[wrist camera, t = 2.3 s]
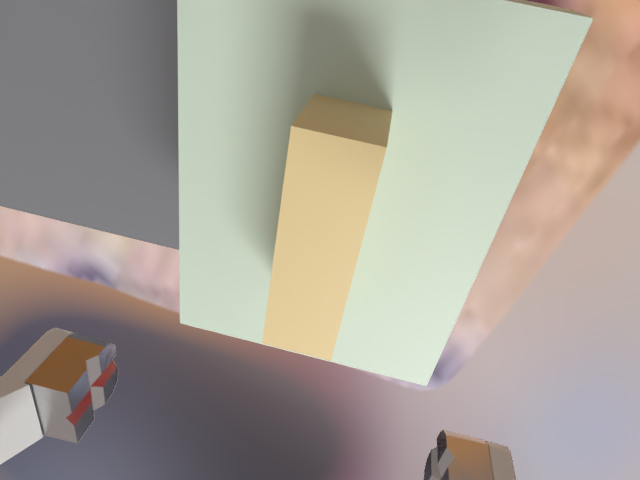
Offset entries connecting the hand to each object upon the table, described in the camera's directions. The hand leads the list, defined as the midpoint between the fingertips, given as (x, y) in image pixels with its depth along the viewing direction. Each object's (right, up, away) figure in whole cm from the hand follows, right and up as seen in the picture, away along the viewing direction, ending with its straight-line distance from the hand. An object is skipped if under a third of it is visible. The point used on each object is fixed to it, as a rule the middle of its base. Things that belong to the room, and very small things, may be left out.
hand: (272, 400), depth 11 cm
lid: (+2, +6, +9) cm, 11 cm away
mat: (-13, +13, +15) cm, 24 cm away
